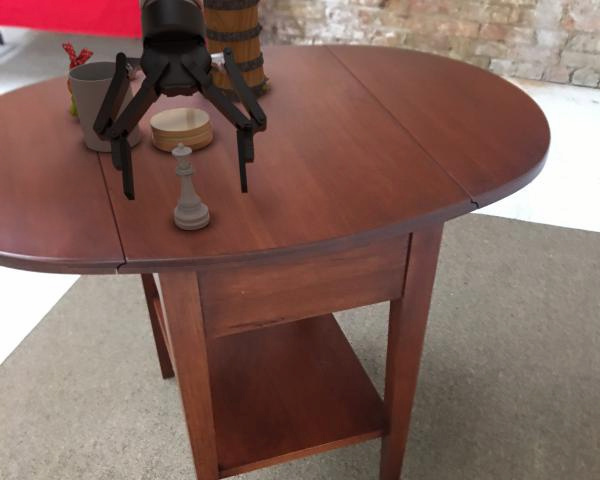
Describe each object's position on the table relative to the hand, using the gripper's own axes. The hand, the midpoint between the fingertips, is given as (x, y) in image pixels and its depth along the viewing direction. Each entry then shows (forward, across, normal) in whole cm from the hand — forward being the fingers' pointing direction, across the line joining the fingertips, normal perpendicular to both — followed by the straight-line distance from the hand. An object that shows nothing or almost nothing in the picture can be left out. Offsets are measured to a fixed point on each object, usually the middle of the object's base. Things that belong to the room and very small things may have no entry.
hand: (187, 193), depth 75 cm
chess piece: (+2, 0, -5) cm, 5 cm away
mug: (-29, -5, -36) cm, 47 cm away
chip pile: (-16, +2, -23) cm, 28 cm away
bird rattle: (-25, +19, -32) cm, 45 cm away
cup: (-17, +13, -24) cm, 32 cm away
